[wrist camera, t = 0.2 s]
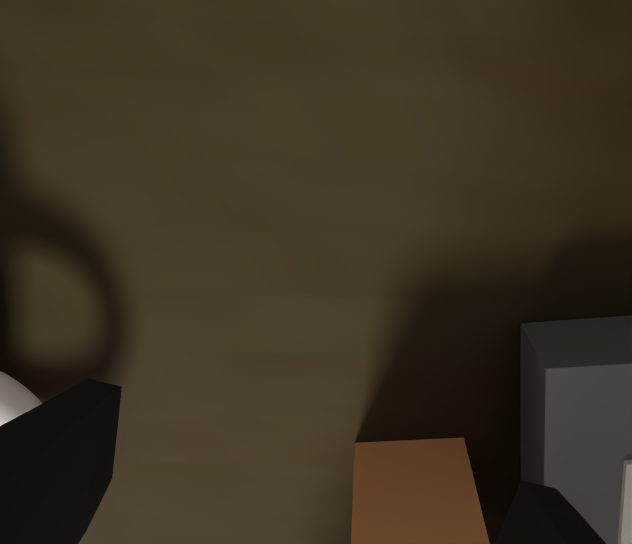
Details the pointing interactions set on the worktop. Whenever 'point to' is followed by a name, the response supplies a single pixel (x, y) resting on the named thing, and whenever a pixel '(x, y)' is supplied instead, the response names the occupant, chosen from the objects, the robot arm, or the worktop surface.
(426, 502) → the plug
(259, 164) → the worktop surface
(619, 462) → the socket block
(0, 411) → the mug
